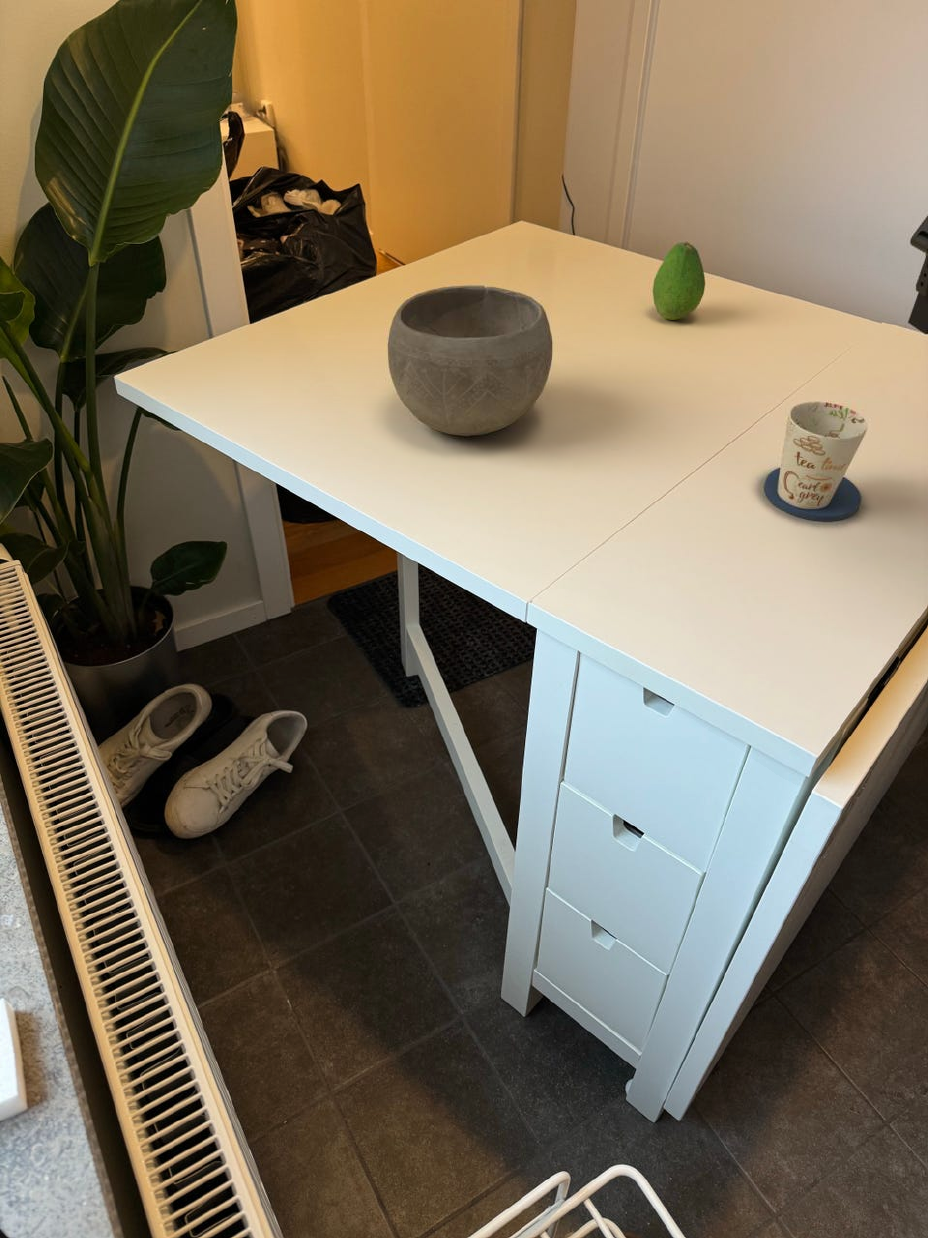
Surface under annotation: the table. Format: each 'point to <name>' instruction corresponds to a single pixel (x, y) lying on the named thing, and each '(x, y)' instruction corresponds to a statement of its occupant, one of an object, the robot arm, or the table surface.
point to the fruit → (679, 282)
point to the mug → (817, 452)
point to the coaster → (837, 509)
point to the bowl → (469, 357)
